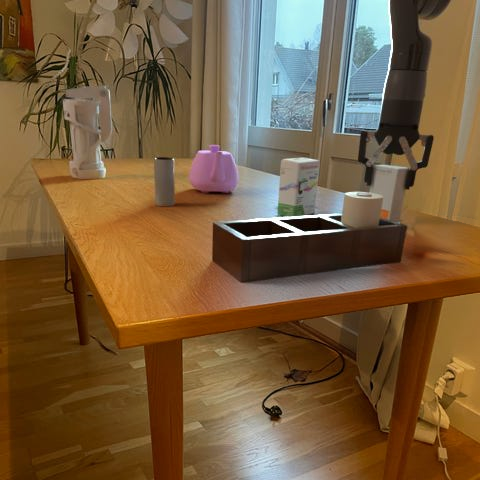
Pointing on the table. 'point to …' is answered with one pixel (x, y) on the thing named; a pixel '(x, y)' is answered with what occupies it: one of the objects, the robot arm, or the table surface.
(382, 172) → the cosmetic box
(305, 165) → the ink box
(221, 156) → the teapot
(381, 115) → the robot arm
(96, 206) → the table surface
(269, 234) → the box
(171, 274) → the table surface
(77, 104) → the lantern
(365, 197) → the towel roll
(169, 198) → the grey cylinder
